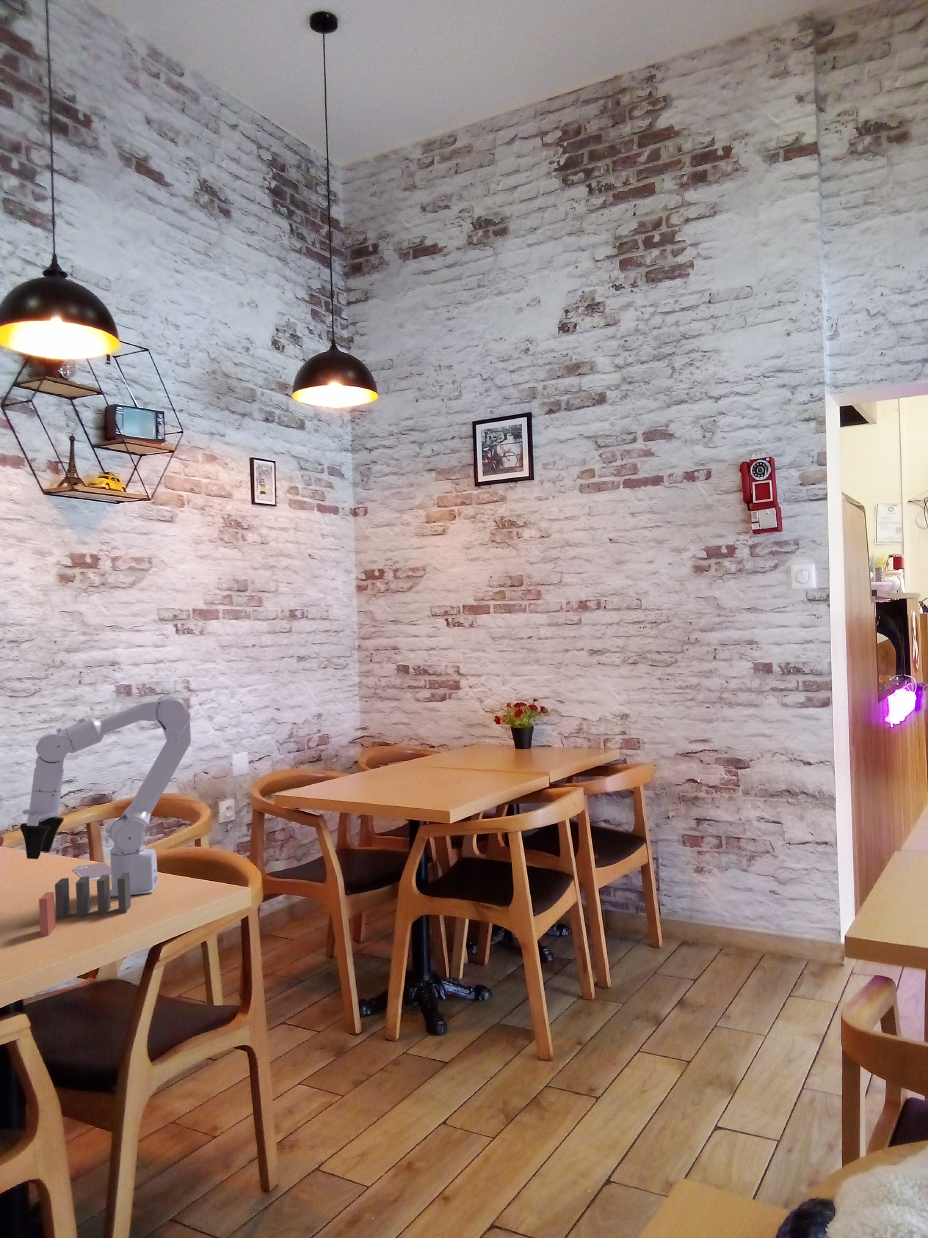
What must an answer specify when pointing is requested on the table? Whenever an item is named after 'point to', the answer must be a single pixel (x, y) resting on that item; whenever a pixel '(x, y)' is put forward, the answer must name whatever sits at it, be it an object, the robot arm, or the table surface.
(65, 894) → the domino
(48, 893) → the red domino
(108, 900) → the domino
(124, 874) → the domino
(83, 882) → the domino
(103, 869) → the mobile phone
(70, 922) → the table surface
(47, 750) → the robot arm
